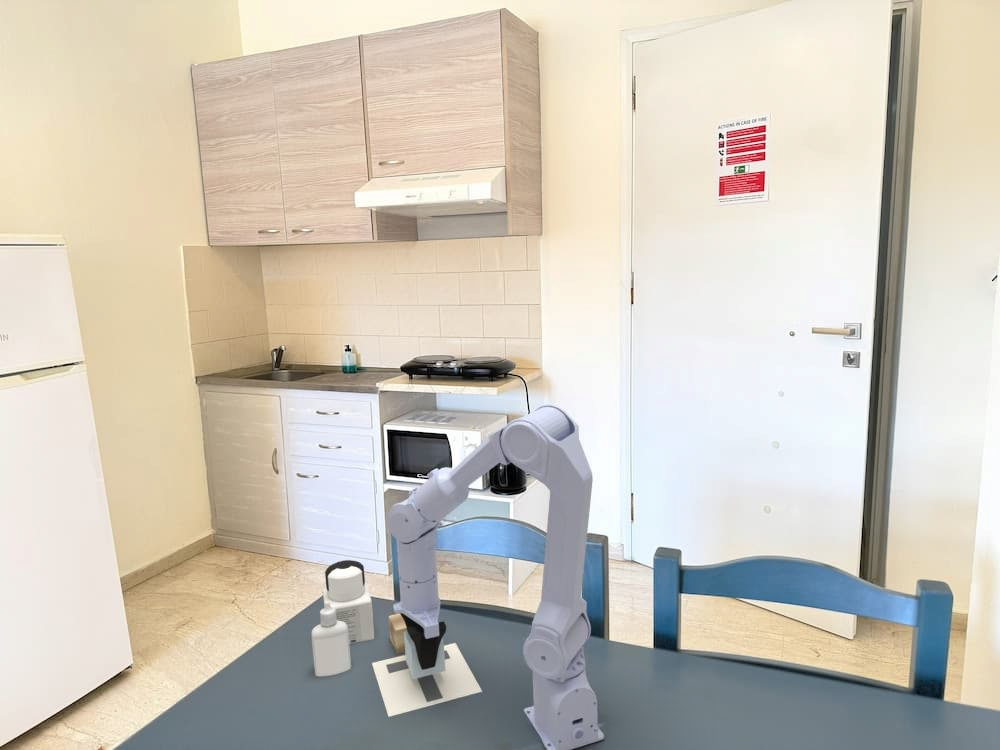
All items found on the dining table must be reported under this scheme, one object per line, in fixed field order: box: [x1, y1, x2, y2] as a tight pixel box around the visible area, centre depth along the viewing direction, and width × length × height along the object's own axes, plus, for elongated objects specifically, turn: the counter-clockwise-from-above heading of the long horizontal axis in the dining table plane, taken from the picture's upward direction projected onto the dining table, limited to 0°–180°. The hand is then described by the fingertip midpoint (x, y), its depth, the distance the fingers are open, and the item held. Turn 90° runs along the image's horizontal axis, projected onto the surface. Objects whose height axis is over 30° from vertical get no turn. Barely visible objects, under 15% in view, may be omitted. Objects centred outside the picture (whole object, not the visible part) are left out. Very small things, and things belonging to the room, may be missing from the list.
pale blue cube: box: [404, 631, 445, 679], centre depth 102 cm, size 5×5×5 cm
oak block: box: [388, 613, 407, 655], centre depth 112 cm, size 5×5×5 cm
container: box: [322, 559, 375, 645], centre depth 116 cm, size 8×8×13 cm
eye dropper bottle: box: [311, 601, 352, 677], centre depth 105 cm, size 4×6×12 cm
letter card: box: [371, 642, 483, 718], centre depth 103 cm, size 14×14×1 cm
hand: (423, 657), depth 102 cm, fingers closed on pale blue cube, 5 cm apart
